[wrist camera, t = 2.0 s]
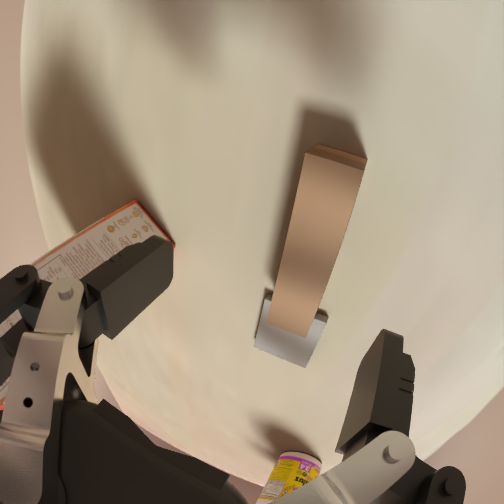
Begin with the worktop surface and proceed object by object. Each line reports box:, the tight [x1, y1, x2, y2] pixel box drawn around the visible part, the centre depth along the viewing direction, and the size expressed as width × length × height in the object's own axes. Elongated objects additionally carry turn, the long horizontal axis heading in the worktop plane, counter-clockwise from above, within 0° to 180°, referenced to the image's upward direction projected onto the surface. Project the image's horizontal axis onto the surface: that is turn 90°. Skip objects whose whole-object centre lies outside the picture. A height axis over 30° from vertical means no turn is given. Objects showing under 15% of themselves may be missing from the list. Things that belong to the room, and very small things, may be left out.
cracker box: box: [0, 200, 175, 410], centre depth 21 cm, size 14×6×21 cm, turn 135°
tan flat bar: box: [254, 144, 367, 368], centre depth 20 cm, size 18×5×3 cm, turn 171°
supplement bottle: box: [256, 452, 322, 504], centre depth 32 cm, size 7×7×13 cm
